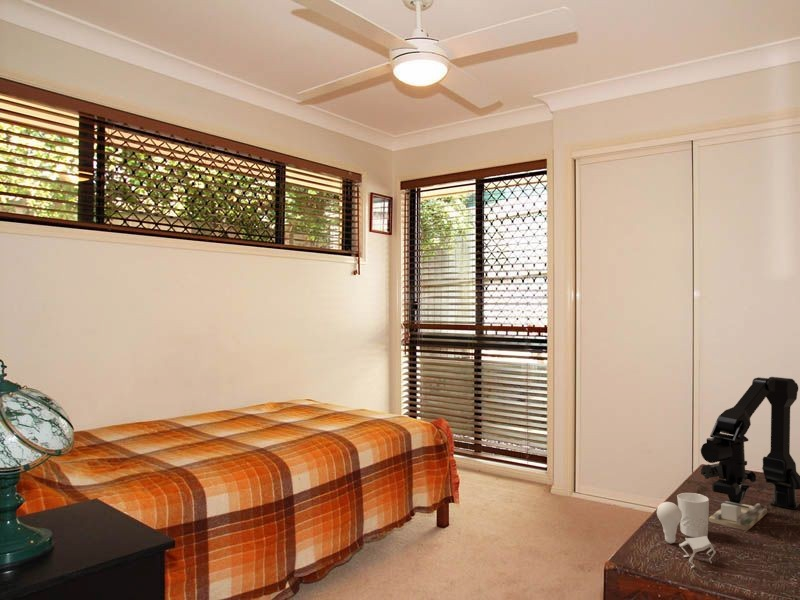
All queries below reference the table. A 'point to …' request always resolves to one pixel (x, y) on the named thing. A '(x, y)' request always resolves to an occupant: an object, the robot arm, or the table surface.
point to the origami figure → (697, 546)
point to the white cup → (694, 514)
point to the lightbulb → (669, 519)
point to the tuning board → (745, 521)
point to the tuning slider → (730, 510)
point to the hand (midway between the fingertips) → (735, 510)
